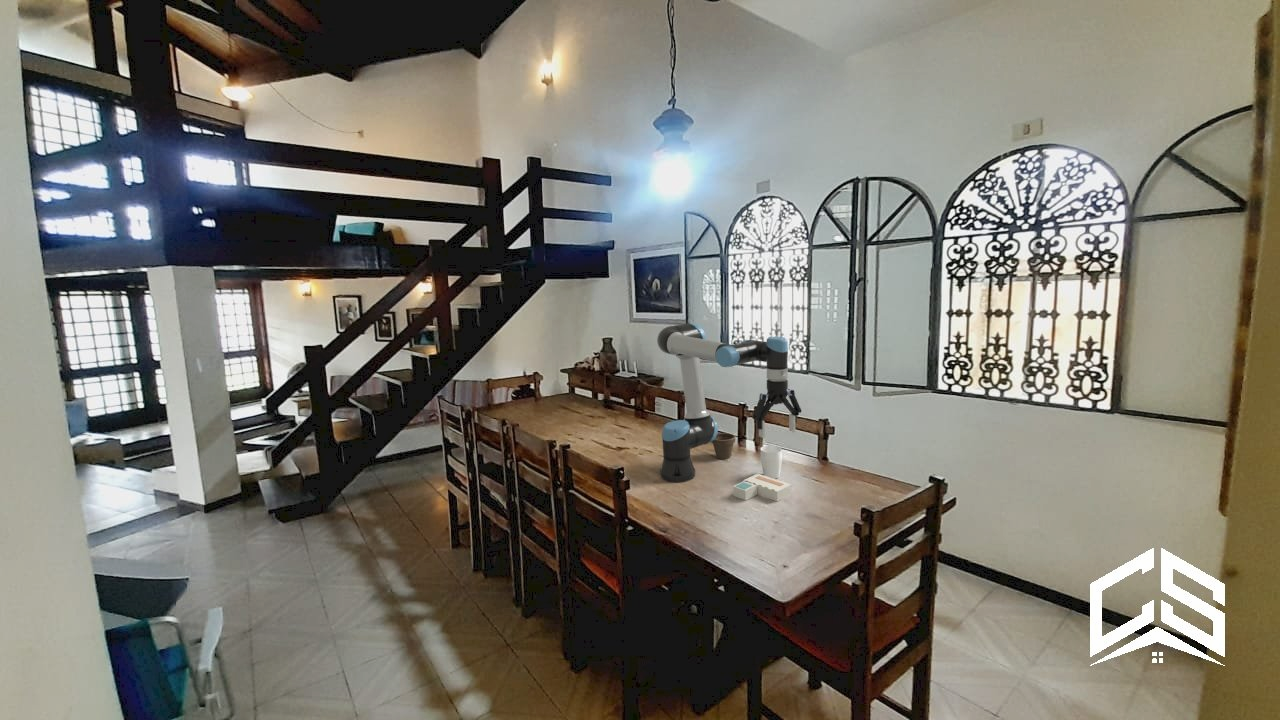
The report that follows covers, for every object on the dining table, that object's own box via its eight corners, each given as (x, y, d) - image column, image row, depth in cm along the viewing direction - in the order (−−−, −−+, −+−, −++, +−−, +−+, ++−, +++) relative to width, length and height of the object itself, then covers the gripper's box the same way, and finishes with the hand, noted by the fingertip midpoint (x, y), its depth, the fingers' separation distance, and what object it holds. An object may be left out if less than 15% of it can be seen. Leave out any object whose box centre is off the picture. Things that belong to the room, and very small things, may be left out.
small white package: (743, 489, 210) (743, 479, 209) (757, 482, 215) (757, 473, 215) (777, 501, 198) (777, 491, 197) (791, 494, 203) (791, 484, 203)
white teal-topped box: (733, 495, 204) (733, 485, 204) (744, 490, 209) (744, 480, 208) (745, 500, 200) (745, 490, 199) (757, 494, 204) (756, 484, 203)
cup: (783, 480, 216) (783, 452, 214) (761, 480, 218) (760, 452, 216) (782, 472, 225) (781, 445, 223) (760, 471, 227) (759, 445, 225)
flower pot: (718, 451, 255) (717, 431, 253) (740, 454, 248) (739, 434, 246) (707, 458, 245) (706, 438, 244) (729, 462, 239) (728, 441, 237)
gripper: (753, 385, 186) (754, 442, 190) (811, 376, 194) (810, 431, 198) (742, 381, 193) (743, 436, 197) (798, 373, 201) (798, 426, 205)
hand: (777, 434), depth 197 cm, fingers open, 13 cm apart
